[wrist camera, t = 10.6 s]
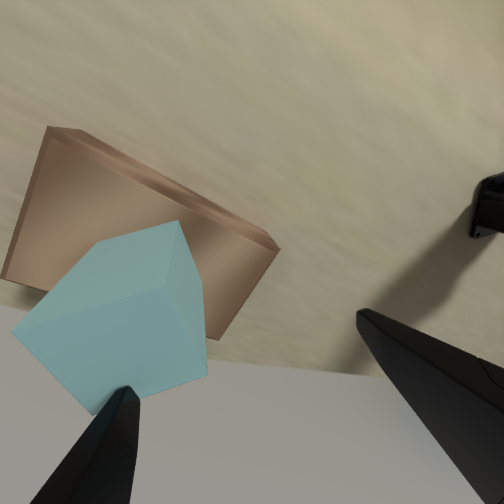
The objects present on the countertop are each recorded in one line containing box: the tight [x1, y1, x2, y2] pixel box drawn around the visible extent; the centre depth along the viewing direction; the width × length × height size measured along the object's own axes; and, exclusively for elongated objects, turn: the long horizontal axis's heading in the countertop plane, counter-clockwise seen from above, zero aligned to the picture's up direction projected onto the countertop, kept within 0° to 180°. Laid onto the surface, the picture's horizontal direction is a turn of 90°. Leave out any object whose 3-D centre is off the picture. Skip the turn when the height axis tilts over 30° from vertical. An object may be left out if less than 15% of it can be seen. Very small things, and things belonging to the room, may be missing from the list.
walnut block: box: [0, 126, 281, 341], centre depth 16 cm, size 14×9×4 cm, turn 58°
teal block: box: [11, 220, 208, 416], centre depth 11 cm, size 5×5×7 cm
